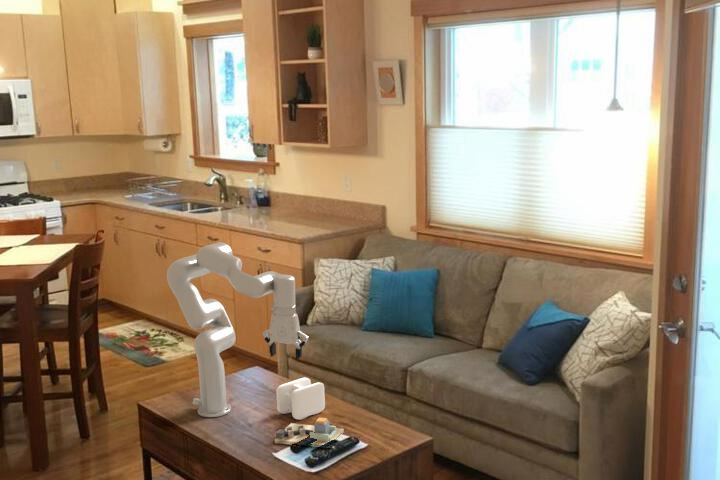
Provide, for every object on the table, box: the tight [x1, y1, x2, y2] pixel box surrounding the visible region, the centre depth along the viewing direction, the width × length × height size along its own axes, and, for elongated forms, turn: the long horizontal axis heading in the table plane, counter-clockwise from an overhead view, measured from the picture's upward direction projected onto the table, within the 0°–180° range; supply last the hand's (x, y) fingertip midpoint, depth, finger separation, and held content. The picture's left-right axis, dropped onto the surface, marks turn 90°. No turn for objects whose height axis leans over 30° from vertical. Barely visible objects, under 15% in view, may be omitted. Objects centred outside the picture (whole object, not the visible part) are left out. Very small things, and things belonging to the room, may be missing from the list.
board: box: [274, 422, 344, 446], centre depth 271 cm, size 20×14×4 cm
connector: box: [313, 417, 330, 435], centre depth 269 cm, size 4×4×6 cm
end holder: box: [310, 424, 337, 441], centre depth 270 cm, size 7×8×2 cm
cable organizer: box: [275, 376, 326, 421], centre depth 292 cm, size 15×11×12 cm
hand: (285, 356), depth 277 cm, fingers open, 9 cm apart
